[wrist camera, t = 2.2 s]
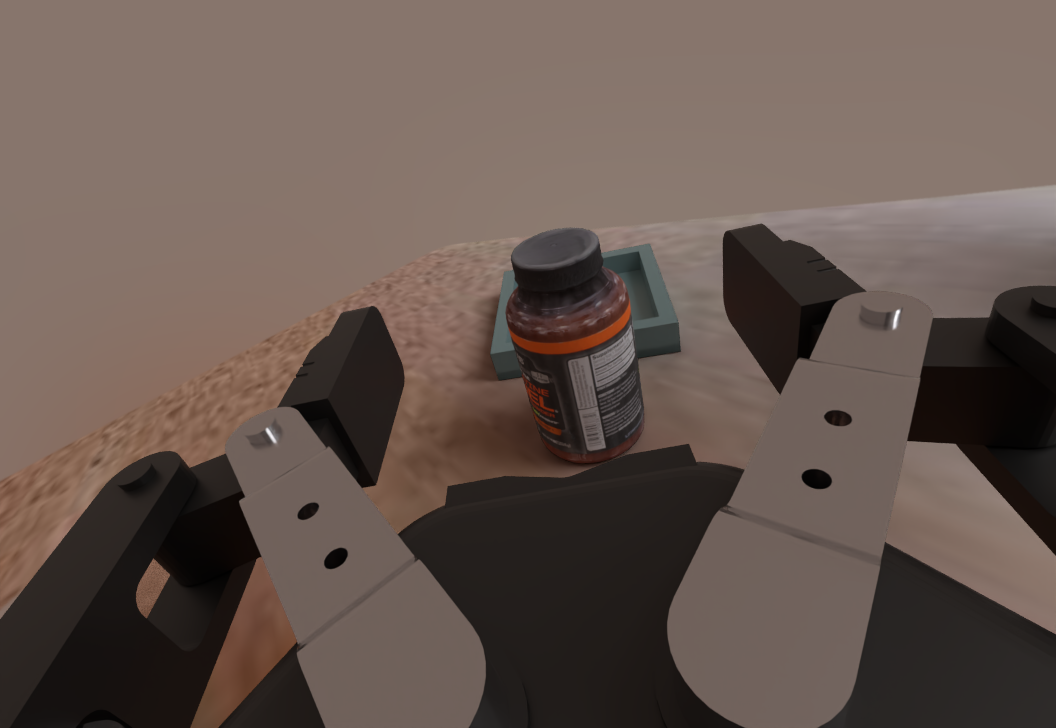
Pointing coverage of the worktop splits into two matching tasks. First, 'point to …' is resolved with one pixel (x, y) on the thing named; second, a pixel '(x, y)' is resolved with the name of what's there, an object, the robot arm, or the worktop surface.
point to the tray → (647, 305)
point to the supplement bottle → (575, 346)
